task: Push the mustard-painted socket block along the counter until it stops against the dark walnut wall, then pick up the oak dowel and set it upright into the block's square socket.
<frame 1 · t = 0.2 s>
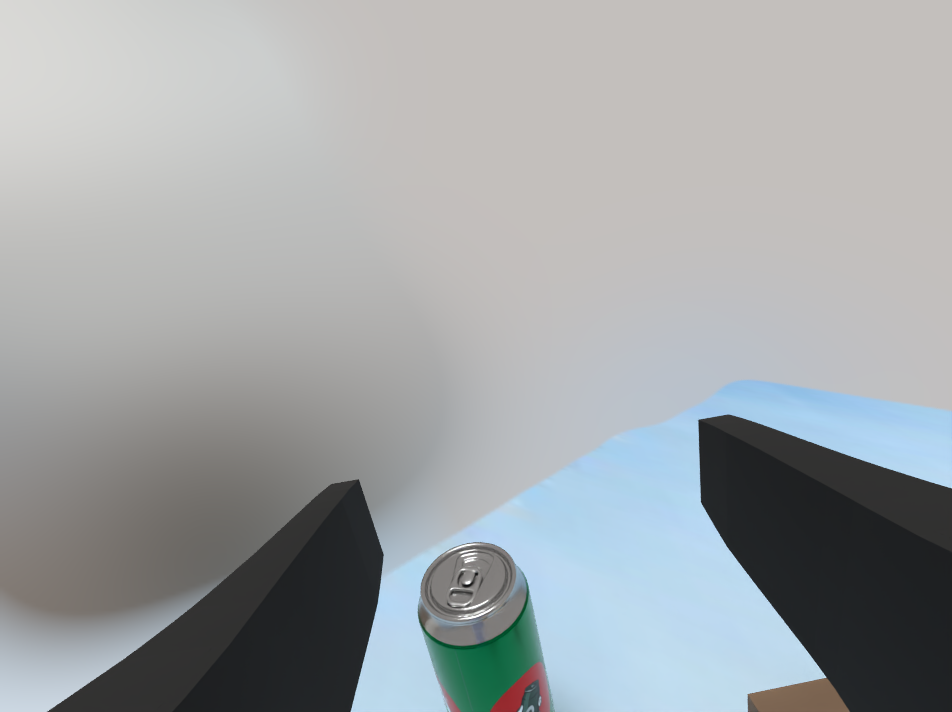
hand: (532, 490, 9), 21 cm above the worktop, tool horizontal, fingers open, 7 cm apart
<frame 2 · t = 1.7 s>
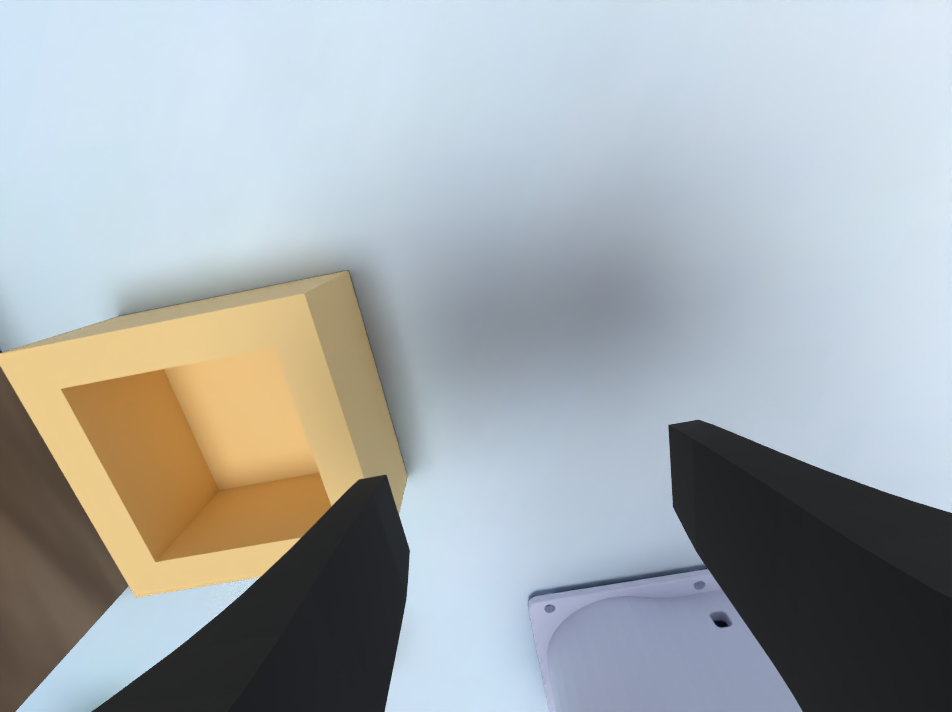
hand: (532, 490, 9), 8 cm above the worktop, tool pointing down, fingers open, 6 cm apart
walnut wall: (30, 447, 18), on the worktop
socket block: (245, 429, 16), point 2 cm above the worktop, slide at 0.0 cm
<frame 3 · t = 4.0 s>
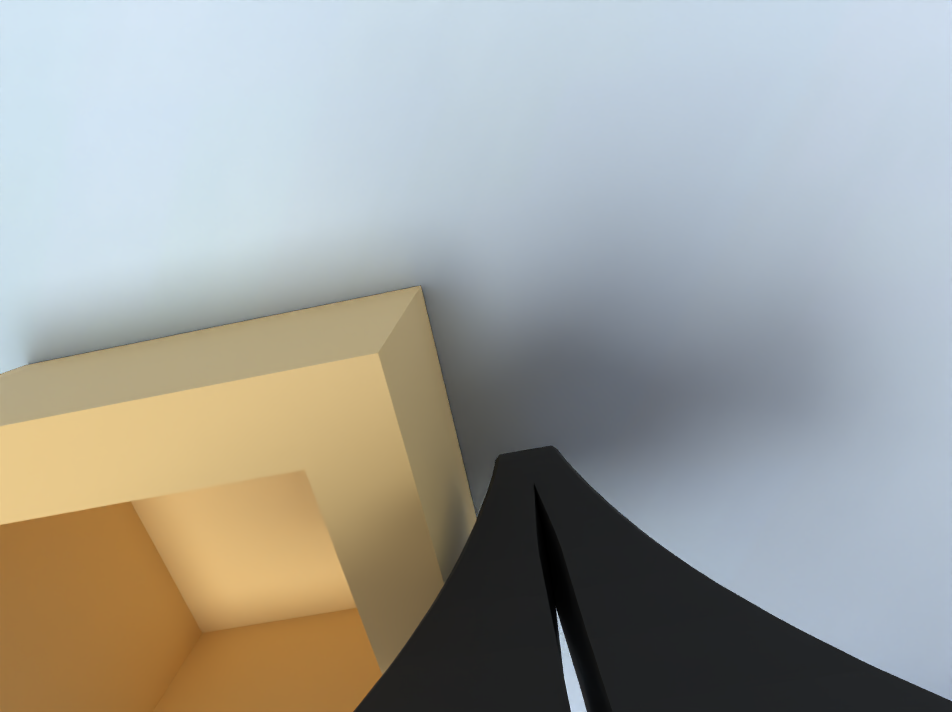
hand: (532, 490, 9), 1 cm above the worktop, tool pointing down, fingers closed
socket block: (242, 568, 9), point 2 cm above the worktop, slide at 0.1 cm, touching gripper
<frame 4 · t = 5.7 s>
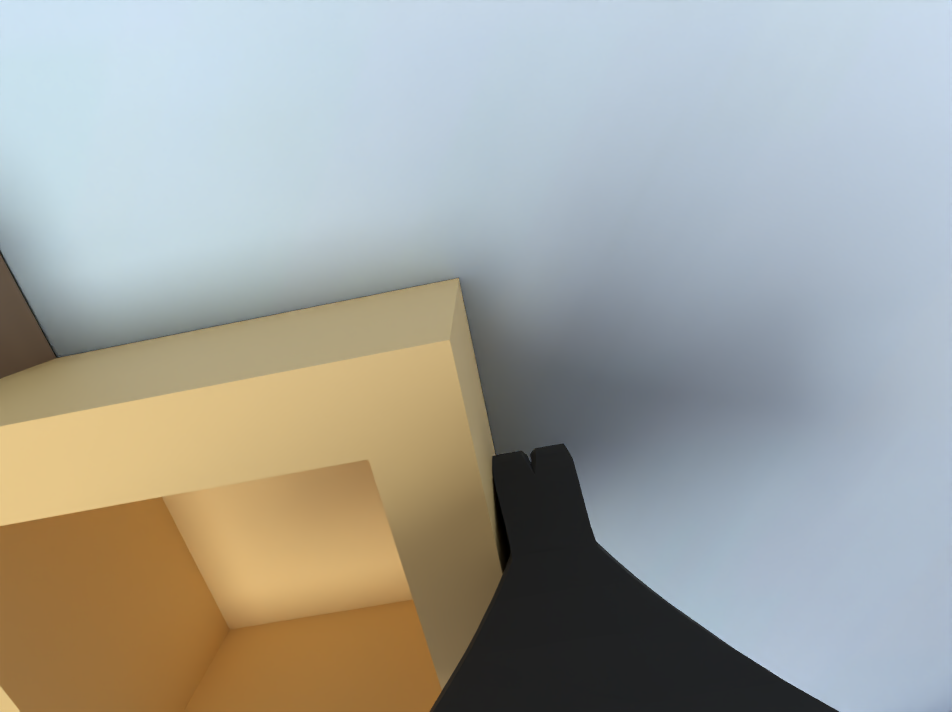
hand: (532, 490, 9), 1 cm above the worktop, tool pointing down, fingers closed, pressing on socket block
walnut wall: (108, 530, 11), on the worktop
socket block: (280, 563, 9), point 2 cm above the worktop, slide at 5.0 cm, touching gripper, walnut wall
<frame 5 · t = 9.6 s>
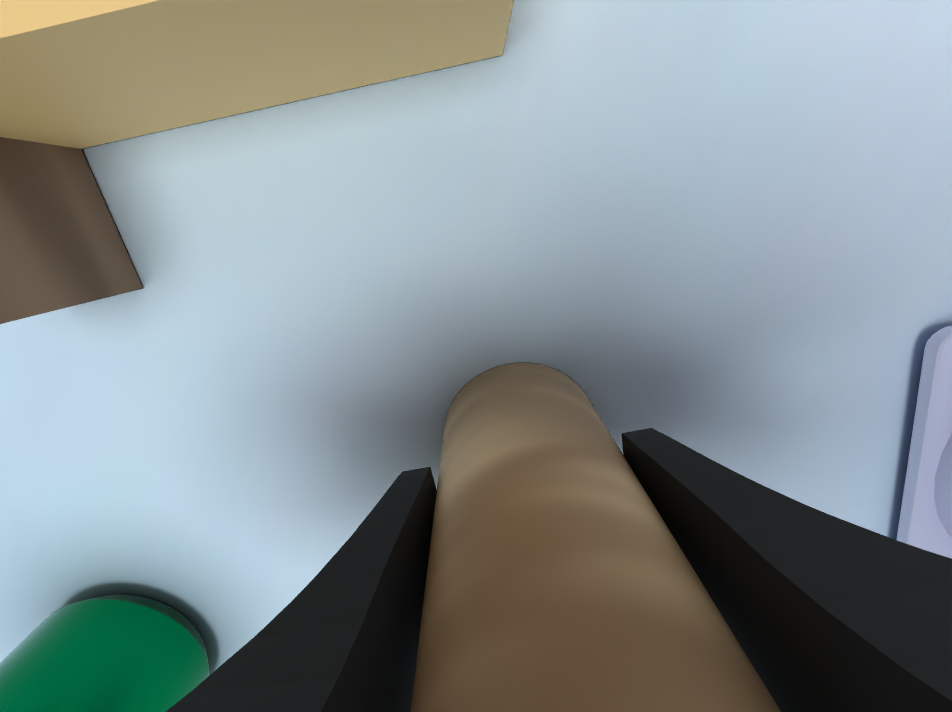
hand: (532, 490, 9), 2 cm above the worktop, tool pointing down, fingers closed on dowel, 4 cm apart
soda can: (143, 638, 14), on the worktop
dowel: (519, 433, 12), on the worktop, touching gripper
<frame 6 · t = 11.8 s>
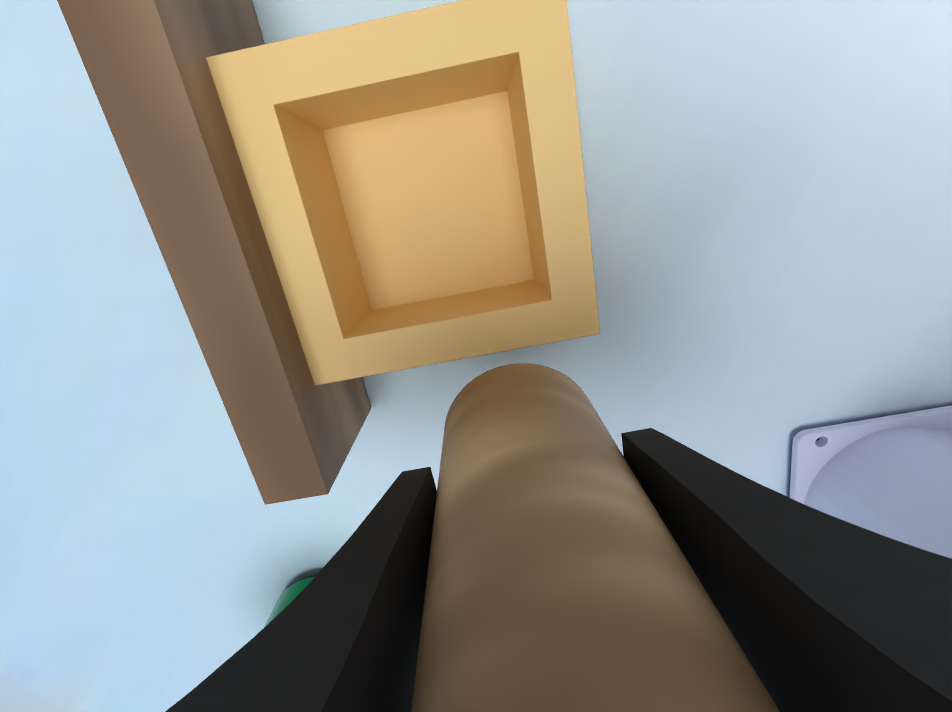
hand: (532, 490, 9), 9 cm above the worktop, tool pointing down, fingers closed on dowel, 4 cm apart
soda can: (331, 602, 23), on the worktop
dowel: (520, 434, 12), point 7 cm above the worktop, touching gripper
walnut wall: (294, 237, 17), on the worktop
socket block: (429, 209, 14), point 2 cm above the worktop, slide at 5.0 cm, touching walnut wall
when the fingers open (5 cm above the worktop, at t = 14.1 s): dowel drops 2 cm, resting on socket block.
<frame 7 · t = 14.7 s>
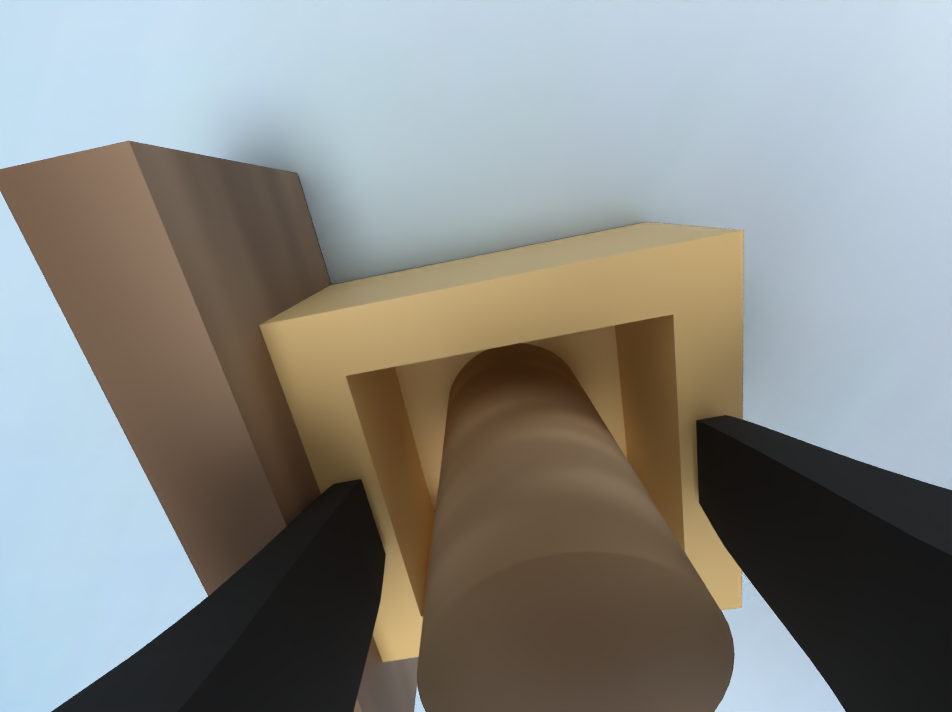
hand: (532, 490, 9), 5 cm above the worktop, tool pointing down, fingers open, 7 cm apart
dowel: (514, 406, 13), point 1 cm above the worktop, touching socket block
walnut wall: (342, 428, 14), on the worktop
socket block: (520, 433, 12), point 2 cm above the worktop, slide at 5.0 cm, touching dowel
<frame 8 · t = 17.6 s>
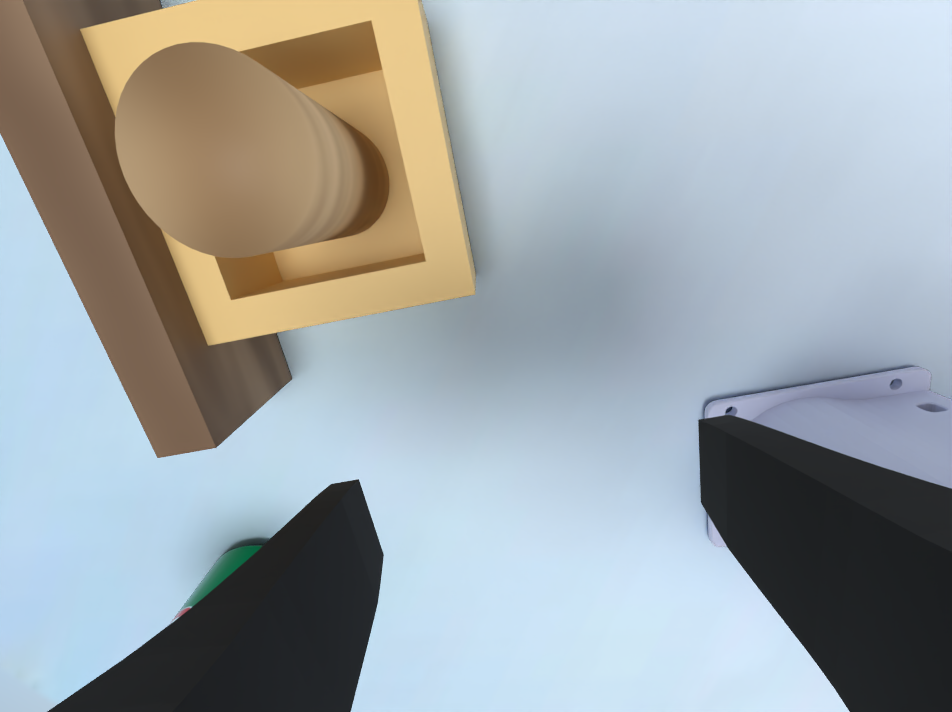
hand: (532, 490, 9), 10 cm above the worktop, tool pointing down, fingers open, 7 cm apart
soda can: (267, 572, 23), on the worktop
dowel: (336, 181, 16), point 1 cm above the worktop, touching socket block
walnut wall: (207, 210, 17), on the worktop
socket block: (320, 178, 15), point 2 cm above the worktop, slide at 5.0 cm, touching dowel
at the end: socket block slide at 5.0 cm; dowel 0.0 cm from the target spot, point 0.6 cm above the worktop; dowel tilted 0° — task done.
